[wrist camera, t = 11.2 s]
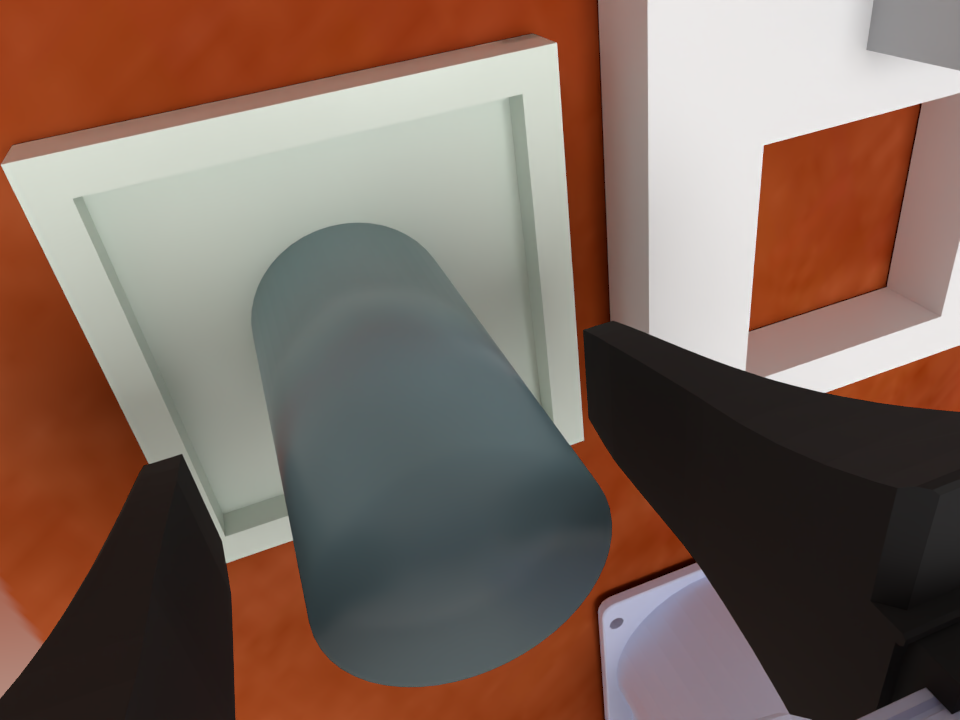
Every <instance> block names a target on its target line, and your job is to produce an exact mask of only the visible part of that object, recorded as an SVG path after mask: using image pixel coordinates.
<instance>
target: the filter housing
mask: <svg viewBox="0 0 960 720" xmlns="http://www.w3.org/2000/svg"><path fill="white" fill-rule="evenodd" d="M598 13H599V39H600V65H601V91H602V117H603V143H604V169H605V195H606V221H607V247H608V273H609V299H610V321H616V322H619V323H622V324H624V325H627V326H630V327H632V328H635V329H637V330H640V331H642V332H645V333H647V334H650V335H652V336H655V337H657V338H659V339H662V340H664V341H667V342H669V343H672V344H674V345H677V346H679V347H681V348H684V349H686V350H689V351H691V352H694V353H697V354H699V355H702V356H704V357H707V358H710V359H712V360H715V361H718V362H720V363H723V364H726V365H729V366H731V367H734V368H737V369H740V370H743V371H747V372H750V373H753V374H756V375H759V376H762V377H765V378H768V379H772V380H775V381H779V382H782V383H786V384H790V385H794V386H798V387H802V388H806V389H810V390H814V391H818V392H822V393H826V392H829V391H831V390H834V389H837V388H840V387H843V386H845V385H848V384H851V383H854V382H857V381H860V380H862V379H865V378H868V377H871V376H874V375H876V374H879V373H882V372H885V371H888V370H891V369H893V368H896V367H899V366H902V365H905V364H908V363H910V362H913V361H916V360H919V359H922V358H924V357H927V356H930V355H933V354H936V353H939V352H941V351H944V350H947V349H950V348H953V347H955V346H958V345H960V0H598ZM920 103H922V106H921V111H920V116H919V122H918V127H917V132H916V137H915V142H914V147H913V153H912V158H911V163H910V168H909V173H908V179H907V184H906V189H905V194H904V199H903V205H902V210H901V215H900V220H899V225H898V230H897V236H896V241H895V246H894V251H893V256H892V262H891V267H890V272H889V277H888V282H887V287H885V288H882V289H879V290H876V291H873V292H870V293H867V294H864V295H860V296H857V297H854V298H851V299H848V300H845V301H842V302H839V303H836V304H833V305H830V306H827V307H824V308H821V309H818V310H814V311H811V312H808V313H805V314H802V315H799V316H796V317H793V318H790V319H787V320H784V321H781V322H778V323H775V324H772V325H768V326H765V327H762V328H759V329H756V330H753V331H750V332H749V320H750V308H751V296H752V283H753V271H754V259H755V246H756V234H757V221H758V209H759V197H760V184H761V172H762V159H763V147H764V145H767V144H770V143H774V142H778V141H782V140H785V139H789V138H793V137H797V136H800V135H804V134H808V133H812V132H815V131H819V130H823V129H827V128H830V127H834V126H838V125H842V124H845V123H849V122H853V121H857V120H860V119H864V118H868V117H872V116H875V115H879V114H883V113H886V112H890V111H894V110H898V109H901V108H905V107H909V106H913V105H916V104H920Z"/></svg>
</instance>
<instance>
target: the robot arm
mask: <svg viewBox="0 0 960 720" xmlns="http://www.w3.org/2000/svg"><path fill="white" fill-rule="evenodd" d="M583 336H584V352H585V368H586V384H587V400H588V416H589V419H590V421H591V423H592V424H593V426H594V428H595V430H596V431H597V433H598V435H599V436H600V438H601V440H602V442H603V443H604V445H605V446H606V448H607V450H608V451H609V453H610V454H611V456H612V457H613V459H614V460H615V462H616V463H617V464H618V466H619V467H620V468H621V469H622V471H623V472H624V473H625V474H626V475H627V477H628V478H629V479H630V480H631V482H632V483H633V484H634V485H635V487H636V488H637V489H638V490H639V492H640V493H641V494H642V495H643V496H644V498H645V499H646V500H647V501H648V502H649V504H650V505H651V506H652V507H653V508H654V510H655V511H656V512H657V513H658V514H659V516H660V517H661V518H662V519H663V521H664V522H665V523H666V524H667V525H668V527H669V528H670V529H671V530H672V531H673V533H674V534H675V535H676V536H677V537H678V539H679V540H680V541H681V542H682V544H683V545H684V546H685V548H686V549H687V550H688V552H689V553H690V554H691V556H692V557H693V558H694V559H695V561H696V562H697V563H694V564H692V565H689V566H687V567H684V568H682V569H679V570H676V571H674V572H671V573H669V574H666V575H664V576H661V577H659V578H656V579H654V580H651V581H649V582H646V583H643V584H641V585H638V586H636V587H633V588H631V589H628V590H626V591H623V592H621V593H618V594H616V595H613V596H610V597H609V598H607V599H605V600H604V601H603V602H602V603H601V605H600V606H599V609H598V619H599V634H600V649H601V664H602V680H603V695H604V710H605V720H960V412H953V411H942V410H932V409H922V408H913V407H904V406H897V405H889V404H882V403H876V402H870V401H864V400H859V399H853V398H847V397H841V396H837V395H832V394H827V393H822V392H818V391H814V390H810V389H806V388H802V387H798V386H794V385H790V384H786V383H782V382H779V381H775V380H772V379H768V378H765V377H762V376H759V375H756V374H753V373H750V372H747V371H743V370H740V369H737V368H734V367H731V366H729V365H726V364H723V363H720V362H718V361H715V360H712V359H710V358H707V357H704V356H702V355H699V354H697V353H694V352H691V351H689V350H686V349H684V348H681V347H679V346H677V345H674V344H672V343H669V342H667V341H664V340H662V339H659V338H657V337H655V336H652V335H650V334H647V333H645V332H642V331H640V330H637V329H635V328H632V327H630V326H627V325H624V324H622V323H619V322H616V321H610V322H607V323H604V324H601V325H598V326H594V327H591V328H588V329H585V330H583ZM0 720H235V695H234V662H233V631H232V604H231V591H230V585H229V578H228V572H227V566H226V561H225V555H224V549H223V544H222V540H221V538H220V536H219V533H218V531H217V529H216V527H215V525H214V522H213V520H212V518H211V516H210V514H209V511H208V509H207V507H206V505H205V503H204V501H203V498H202V496H201V494H200V492H199V490H198V487H197V485H196V483H195V481H194V479H193V477H192V474H191V472H190V470H189V468H188V466H187V463H186V461H185V459H184V457H183V455H182V454H180V455H177V456H174V457H170V458H167V459H164V460H161V461H157V462H154V463H151V464H148V465H144V466H143V468H142V470H141V471H140V473H139V475H138V477H137V479H136V481H135V483H134V485H133V487H132V489H131V491H130V493H129V496H128V498H127V500H126V502H125V504H124V506H123V508H122V510H121V512H120V514H119V516H118V518H117V520H116V522H115V524H114V526H113V528H112V530H111V532H110V534H109V536H108V538H107V540H106V542H105V543H104V545H103V547H102V549H101V551H100V553H99V555H98V557H97V558H96V560H95V562H94V564H93V566H92V568H91V569H90V571H89V573H88V575H87V576H86V578H85V580H84V581H83V583H82V585H81V586H80V588H79V590H78V591H77V593H76V594H75V596H74V598H73V599H72V601H71V603H70V604H69V606H68V608H67V609H66V611H65V613H64V614H63V616H62V617H61V619H60V620H59V622H58V623H57V625H56V626H55V628H54V629H53V631H52V632H51V634H50V635H49V637H48V638H47V640H46V641H45V642H44V644H43V645H42V646H41V648H40V649H39V650H38V652H37V653H36V655H35V656H34V657H33V659H32V660H31V661H30V663H29V664H28V665H27V667H26V668H25V669H24V671H23V672H22V673H21V675H20V676H19V677H18V678H17V679H16V681H15V682H14V683H13V684H12V685H11V687H10V688H9V689H8V690H7V691H6V692H5V694H4V695H3V696H2V697H1V699H0Z"/></svg>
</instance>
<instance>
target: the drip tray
mask: <svg viewBox="0 0 960 720" xmlns="http://www.w3.org/2000/svg"><path fill="white" fill-rule="evenodd" d="M1 166H2V168H3V170H4V172H5V174H6V176H7V178H8V180H9V182H10V185H11V187H12V189H13V191H14V193H15V195H16V197H17V199H18V201H19V203H20V205H21V207H22V209H23V211H24V213H25V215H26V217H27V219H28V221H29V223H30V225H31V227H32V229H33V231H34V233H35V235H36V237H37V239H38V241H39V243H40V245H41V247H42V249H43V251H44V253H45V255H46V257H47V259H48V261H49V263H50V265H51V267H52V269H53V271H54V273H55V275H56V277H57V279H58V281H59V284H60V286H61V288H62V290H63V292H64V294H65V296H66V298H67V300H68V302H69V304H70V306H71V308H72V310H73V312H74V314H75V316H76V318H77V320H78V322H79V324H80V326H81V328H82V330H83V332H84V334H85V336H86V338H87V340H88V342H89V344H90V346H91V348H92V350H93V352H94V354H95V356H96V358H97V360H98V362H99V364H100V366H101V368H102V370H103V372H104V374H105V376H106V378H107V380H108V383H109V385H110V387H111V389H112V391H113V393H114V395H115V397H116V399H117V401H118V403H119V405H120V407H121V409H122V411H123V413H124V415H125V417H126V419H127V421H128V423H129V425H130V427H131V429H132V431H133V433H134V435H135V437H136V439H137V441H138V443H139V445H140V447H141V449H142V451H143V453H144V455H145V457H146V459H147V461H148V463H149V464H151V463H154V462H157V461H161V460H164V459H167V458H170V457H174V456H177V455H180V454H182V455H183V457H184V459H185V461H186V463H187V466H188V468H189V470H190V472H191V474H192V477H193V479H194V481H195V483H196V485H197V487H198V490H199V492H200V494H201V496H202V498H203V501H204V503H205V505H206V507H207V509H208V511H209V514H210V516H211V518H212V520H213V522H214V525H215V527H216V529H217V531H218V533H219V536H220V538H221V540H222V544H223V549H224V555H225V561H226V563H228V562H231V561H234V560H237V559H240V558H243V557H246V556H249V555H252V554H255V553H258V552H260V551H263V550H266V549H269V548H272V547H275V546H278V545H281V544H284V543H287V542H290V541H293V537H292V532H291V527H290V522H289V517H288V512H287V507H286V502H285V497H284V491H283V486H282V481H281V476H280V471H279V466H278V461H277V456H276V451H275V446H274V441H273V435H272V430H271V425H270V420H269V415H268V410H267V405H266V400H265V395H264V390H263V385H262V380H261V374H260V369H259V364H258V359H257V354H256V349H255V344H254V339H253V333H252V325H251V313H252V306H253V300H254V297H255V294H256V291H257V288H258V285H259V283H260V281H261V279H262V277H263V275H264V274H265V272H266V271H267V270H268V268H269V267H270V265H271V264H272V263H273V262H274V261H275V259H276V258H277V257H278V256H279V255H280V254H281V253H282V252H283V251H285V250H286V249H287V248H288V247H289V246H290V245H292V244H293V243H295V242H296V241H298V240H299V239H301V238H303V237H305V236H307V235H309V234H311V233H313V232H315V231H317V230H320V229H323V228H326V227H329V226H334V225H339V224H346V223H371V224H377V225H383V226H386V227H389V228H392V229H396V230H398V231H400V232H402V233H404V234H406V235H408V236H409V237H411V238H412V239H414V240H416V241H417V242H418V243H419V244H420V245H422V246H423V247H424V248H425V249H426V250H427V251H428V252H429V253H430V255H431V256H432V257H433V258H434V260H435V261H436V262H437V264H438V265H439V266H440V268H441V269H442V271H443V272H444V273H445V275H446V276H447V277H448V279H449V280H450V281H451V283H452V284H453V286H454V287H455V288H456V290H457V291H458V292H459V294H460V295H461V297H462V298H463V299H464V301H465V302H466V303H467V305H468V306H469V308H470V309H471V310H472V312H473V313H474V314H475V316H476V317H477V319H478V320H479V321H480V323H481V324H482V325H483V327H484V328H485V329H486V331H487V332H488V334H489V335H490V336H491V338H492V339H493V340H494V342H495V343H496V345H497V346H498V347H499V349H500V350H501V351H502V353H503V354H504V356H505V357H506V358H507V360H508V361H509V362H510V364H511V365H512V367H513V368H514V369H515V371H516V372H517V373H518V375H519V376H520V377H521V379H522V380H523V382H524V383H525V384H526V386H527V387H528V388H529V390H530V391H531V393H532V394H533V395H534V397H535V398H536V399H537V401H538V402H539V404H540V405H541V406H542V408H543V409H544V410H545V412H546V413H547V415H548V416H549V417H550V419H551V420H552V421H553V423H554V424H555V426H556V427H557V428H558V430H559V431H560V432H561V434H562V435H563V436H564V438H565V439H566V441H567V442H568V443H569V445H572V444H575V443H578V442H581V441H584V432H583V418H582V403H581V388H580V374H579V359H578V344H577V330H576V315H575V300H574V285H573V271H572V256H571V241H570V227H569V212H568V197H567V183H566V168H565V153H564V139H563V124H562V109H561V95H560V80H559V65H558V50H557V43H556V42H554V41H551V40H548V39H546V38H543V37H541V36H538V35H535V34H528V35H523V36H519V37H514V38H509V39H505V40H500V41H495V42H491V43H486V44H481V45H477V46H472V47H467V48H463V49H458V50H453V51H449V52H444V53H440V54H435V55H430V56H426V57H421V58H416V59H412V60H407V61H402V62H398V63H393V64H388V65H384V66H379V67H374V68H370V69H365V70H360V71H356V72H351V73H346V74H342V75H337V76H333V77H328V78H323V79H319V80H314V81H309V82H305V83H300V84H295V85H291V86H286V87H281V88H277V89H272V90H267V91H263V92H258V93H253V94H249V95H244V96H239V97H235V98H230V99H225V100H221V101H216V102H212V103H207V104H202V105H198V106H193V107H188V108H184V109H179V110H174V111H170V112H165V113H160V114H156V115H151V116H146V117H142V118H137V119H132V120H128V121H123V122H118V123H114V124H109V125H105V126H100V127H95V128H91V129H86V130H81V131H77V132H72V133H67V134H63V135H58V136H53V137H49V138H44V139H39V140H35V141H30V142H25V143H21V144H16V145H12V147H11V148H10V150H9V152H8V153H7V155H6V157H5V158H4V160H3V162H2V163H1Z"/></svg>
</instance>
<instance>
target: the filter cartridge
mask: <svg viewBox="0 0 960 720" xmlns="http://www.w3.org/2000/svg"><path fill="white" fill-rule="evenodd" d="M251 325H252V333H253V339H254V344H255V349H256V354H257V359H258V364H259V369H260V374H261V380H262V385H263V390H264V395H265V400H266V405H267V410H268V415H269V420H270V425H271V430H272V435H273V441H274V446H275V451H276V456H277V461H278V466H279V471H280V476H281V481H282V486H283V491H284V497H285V502H286V507H287V512H288V517H289V522H290V527H291V532H292V537H293V542H294V547H295V552H296V558H297V563H298V568H299V573H300V578H301V583H302V588H303V593H304V598H305V603H306V608H307V613H308V619H309V623H310V626H311V629H312V633H313V636H314V638H315V640H316V641H317V643H318V645H319V647H320V649H321V650H322V651H323V652H324V653H325V654H326V656H327V657H328V658H329V659H330V660H331V661H332V662H333V663H335V664H336V665H337V666H338V667H340V668H341V669H343V670H344V671H346V672H348V673H350V674H352V675H353V676H355V677H358V678H361V679H364V680H366V681H369V682H373V683H378V684H382V685H388V686H398V687H424V686H434V685H441V684H446V683H451V682H456V681H460V680H463V679H467V678H470V677H474V676H476V675H479V674H482V673H485V672H487V671H490V670H492V669H495V668H497V667H499V666H501V665H503V664H505V663H508V662H509V661H511V660H513V659H515V658H517V657H518V656H520V655H522V654H524V653H525V652H527V651H528V650H530V649H532V648H533V647H535V646H536V645H538V644H539V643H540V642H542V641H543V640H544V639H546V638H547V637H548V636H549V635H551V634H552V633H553V632H555V631H556V630H557V629H558V628H559V627H560V626H561V625H562V624H563V623H564V622H565V621H566V620H568V618H569V617H570V616H571V615H572V614H573V613H574V612H575V611H576V610H577V609H578V608H579V606H580V605H581V604H582V602H583V601H584V600H585V598H586V597H587V596H588V594H589V593H590V591H591V590H592V588H593V586H594V585H595V583H596V582H597V580H598V578H599V576H600V574H601V571H602V569H603V567H604V565H605V562H606V559H607V556H608V553H609V548H610V543H611V537H612V520H611V514H610V508H609V505H608V502H607V500H606V497H605V495H604V493H603V491H602V490H601V488H600V486H599V485H598V483H597V482H596V480H595V479H594V478H593V476H592V475H591V474H590V472H589V471H588V469H587V468H586V467H585V465H584V464H583V463H582V461H581V460H580V458H579V457H578V456H577V454H576V453H575V452H574V450H573V449H572V447H571V446H570V445H569V443H568V442H567V441H566V439H565V438H564V436H563V435H562V434H561V432H560V431H559V430H558V428H557V427H556V426H555V424H554V423H553V421H552V420H551V419H550V417H549V416H548V415H547V413H546V412H545V410H544V409H543V408H542V406H541V405H540V404H539V402H538V401H537V399H536V398H535V397H534V395H533V394H532V393H531V391H530V390H529V388H528V387H527V386H526V384H525V383H524V382H523V380H522V379H521V377H520V376H519V375H518V373H517V372H516V371H515V369H514V368H513V367H512V365H511V364H510V362H509V361H508V360H507V358H506V357H505V356H504V354H503V353H502V351H501V350H500V349H499V347H498V346H497V345H496V343H495V342H494V340H493V339H492V338H491V336H490V335H489V334H488V332H487V331H486V329H485V328H484V327H483V325H482V324H481V323H480V321H479V320H478V319H477V317H476V316H475V314H474V313H473V312H472V310H471V309H470V308H469V306H468V305H467V303H466V302H465V301H464V299H463V298H462V297H461V295H460V294H459V292H458V291H457V290H456V288H455V287H454V286H453V284H452V283H451V281H450V280H449V279H448V277H447V276H446V275H445V273H444V272H443V271H442V269H441V268H440V266H439V265H438V264H437V262H436V261H435V260H434V258H433V257H432V256H431V255H430V253H429V252H428V251H427V250H426V249H425V248H424V247H423V246H422V245H420V244H419V243H418V242H417V241H416V240H414V239H412V238H411V237H409V236H408V235H406V234H404V233H402V232H400V231H398V230H396V229H392V228H389V227H386V226H383V225H377V224H371V223H346V224H339V225H334V226H329V227H326V228H323V229H320V230H317V231H315V232H313V233H311V234H309V235H307V236H305V237H303V238H301V239H299V240H298V241H296V242H295V243H293V244H292V245H290V246H289V247H288V248H287V249H286V250H285V251H283V252H282V253H281V254H280V255H279V256H278V257H277V258H276V259H275V261H274V262H273V263H272V264H271V265H270V267H269V268H268V270H267V271H266V272H265V274H264V275H263V277H262V279H261V281H260V283H259V285H258V288H257V291H256V294H255V297H254V300H253V306H252V313H251Z"/></svg>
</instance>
